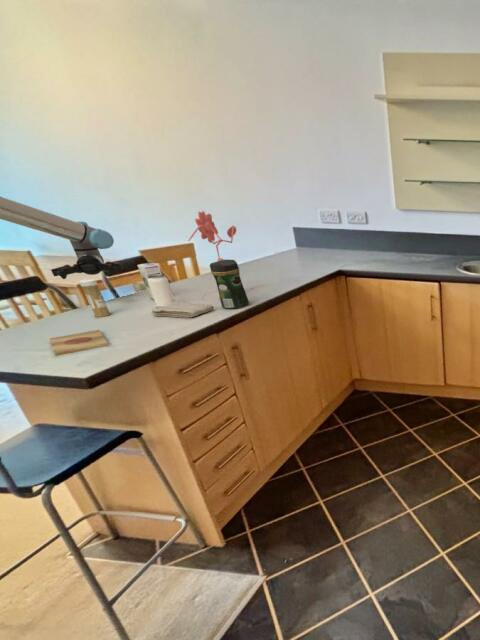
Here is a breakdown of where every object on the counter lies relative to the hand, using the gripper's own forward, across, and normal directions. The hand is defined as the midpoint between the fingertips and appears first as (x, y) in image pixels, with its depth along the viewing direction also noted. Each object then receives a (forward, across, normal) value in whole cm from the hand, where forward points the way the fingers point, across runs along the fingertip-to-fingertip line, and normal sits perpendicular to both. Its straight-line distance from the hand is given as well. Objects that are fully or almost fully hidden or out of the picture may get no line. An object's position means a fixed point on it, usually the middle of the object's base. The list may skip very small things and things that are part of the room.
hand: (87, 273), depth 158 cm
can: (+8, -20, -15) cm, 26 cm away
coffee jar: (+25, -42, -15) cm, 51 cm away
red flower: (+2, -41, -15) cm, 43 cm away
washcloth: (+24, -24, -15) cm, 37 cm away
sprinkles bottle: (+10, 0, -14) cm, 17 cm away
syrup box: (-8, -18, -15) cm, 25 cm away
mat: (+43, +5, -14) cm, 45 cm away
